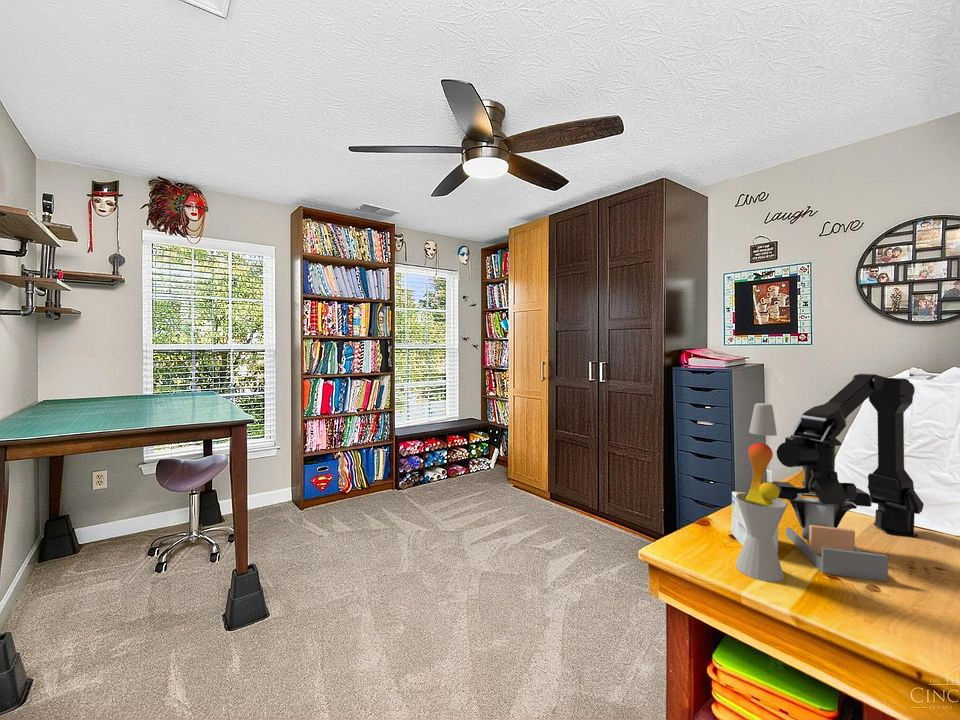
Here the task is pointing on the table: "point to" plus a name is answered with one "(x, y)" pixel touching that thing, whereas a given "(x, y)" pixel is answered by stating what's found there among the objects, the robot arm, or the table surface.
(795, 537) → the pusher lane
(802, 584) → the table surface
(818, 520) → the jar
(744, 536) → the light bulb box
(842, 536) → the plate
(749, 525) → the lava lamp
